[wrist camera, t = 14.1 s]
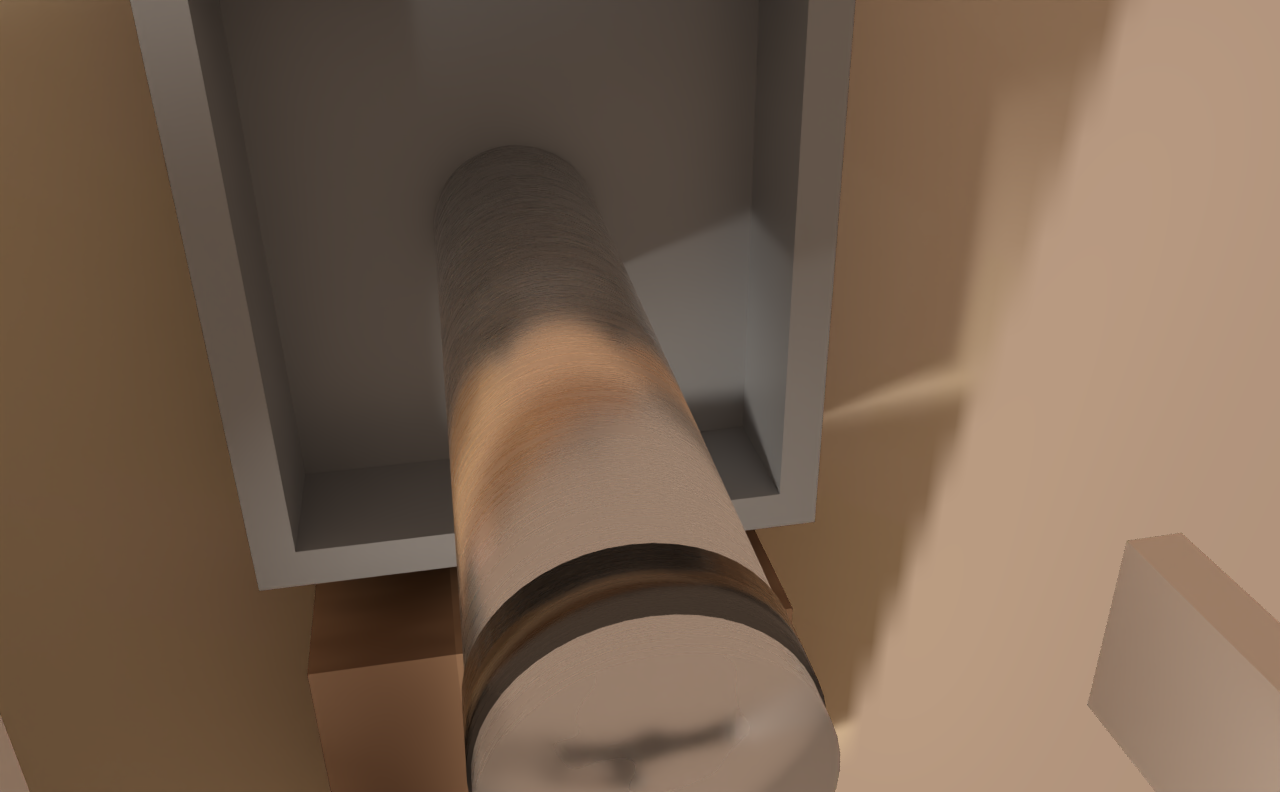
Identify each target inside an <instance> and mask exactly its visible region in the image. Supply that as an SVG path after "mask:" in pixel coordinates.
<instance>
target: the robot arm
mask: <svg viewBox="0 0 1280 792" xmlns="http://www.w3.org/2000/svg"><path fill="white" fill-rule="evenodd" d="M1088 706H1089V708H1090V709H1091V710H1092V712H1093V713H1094V714H1095V715H1096V717H1097V718H1098V719H1099V720H1100V722H1101V723H1102V724H1103V725H1104V727H1105V728H1106V729H1107V731H1108V732H1109V733H1110V734H1111V736H1112V737H1113V738H1114V739H1115V741H1116V742H1117V743H1118V745H1119V746H1120V747H1121V748H1122V750H1123V751H1124V752H1125V753H1126V755H1127V756H1128V757H1129V759H1130V760H1131V761H1132V762H1133V764H1134V765H1135V766H1136V767H1137V769H1138V770H1139V771H1140V772H1141V774H1142V775H1143V776H1144V778H1145V779H1146V780H1147V781H1148V783H1149V784H1150V785H1151V787H1152V788H1153V789H1154V790H1155V791H1156V792H1280V623H1279V622H1278V621H1277V620H1276V619H1275V618H1274V617H1273V616H1272V615H1271V614H1270V613H1268V612H1267V611H1266V610H1265V609H1264V608H1263V607H1262V606H1261V605H1260V604H1259V603H1258V602H1256V601H1255V600H1254V599H1253V598H1252V597H1251V596H1250V595H1249V594H1248V593H1247V592H1246V591H1244V590H1243V589H1242V588H1241V587H1240V586H1239V585H1238V584H1237V583H1236V582H1235V581H1234V580H1232V579H1231V578H1230V577H1229V576H1228V575H1227V574H1226V573H1224V571H1222V570H1221V569H1220V568H1219V567H1218V566H1217V565H1216V564H1215V563H1214V562H1213V561H1211V559H1209V558H1208V557H1207V556H1206V555H1205V554H1204V553H1203V552H1202V551H1201V550H1200V549H1198V548H1197V547H1196V546H1195V545H1194V544H1193V543H1192V542H1191V541H1190V540H1189V539H1187V538H1186V537H1185V536H1184V535H1183V534H1182V533H1176V534H1169V535H1162V536H1155V537H1149V538H1142V539H1135V540H1128V541H1127V542H1126V546H1125V550H1124V554H1123V558H1122V563H1121V567H1120V571H1119V575H1118V579H1117V583H1116V588H1115V592H1114V596H1113V600H1112V605H1111V608H1110V613H1109V617H1108V621H1107V625H1106V629H1105V633H1104V638H1103V642H1102V646H1101V651H1100V654H1099V659H1098V663H1097V667H1096V671H1095V675H1094V679H1093V684H1092V688H1091V692H1090V697H1089V701H1088ZM0 792H30V791H29V788H28V786H27V783H26V781H25V778H24V775H23V773H22V770H21V767H20V765H19V762H18V760H17V757H16V754H15V752H14V749H13V746H12V744H11V741H10V739H9V736H8V733H7V731H6V728H5V725H4V723H3V720H2V718H1V715H0Z"/></svg>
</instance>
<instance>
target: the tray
mask: <svg viewBox="0 0 1280 792" xmlns="http://www.w3.org/2000/svg"><path fill="white" fill-rule="evenodd" d="M130 3H131V8H132V12H133V17H134V21H135V26H136V30H137V35H138V39H139V44H140V49H141V53H142V58H143V62H144V67H145V71H146V76H147V81H148V85H149V90H150V94H151V99H152V103H153V108H154V113H155V117H156V122H157V126H158V131H159V135H160V140H161V145H162V149H163V154H164V158H165V163H166V167H167V172H168V177H169V181H170V186H171V190H172V195H173V199H174V204H175V209H176V213H177V218H178V222H179V227H180V231H181V236H182V241H183V245H184V250H185V254H186V259H187V263H188V268H189V273H190V277H191V282H192V286H193V291H194V295H195V300H196V305H197V309H198V314H199V318H200V323H201V327H202V332H203V336H204V341H205V346H206V350H207V355H208V359H209V364H210V368H211V373H212V378H213V382H214V387H215V391H216V396H217V400H218V405H219V410H220V414H221V419H222V423H223V428H224V432H225V437H226V442H227V446H228V451H229V455H230V460H231V464H232V469H233V474H234V478H235V483H236V487H237V492H238V496H239V501H240V506H241V510H242V515H243V519H244V524H245V528H246V533H247V538H248V542H249V547H250V551H251V556H252V560H253V565H254V570H255V574H256V579H257V583H258V588H259V591H262V590H270V589H278V588H287V587H295V586H303V585H311V584H319V583H327V582H335V581H343V580H351V579H359V578H367V577H375V576H383V575H391V574H399V573H407V572H415V571H423V570H431V569H440V568H448V567H456V566H457V561H456V546H455V532H454V517H453V502H452V487H451V473H450V458H449V443H448V428H447V414H446V399H445V384H444V369H443V355H442V340H441V325H440V310H439V296H438V281H437V266H436V251H435V237H434V214H435V208H436V204H437V200H438V198H439V195H440V193H441V191H442V189H443V187H444V185H445V184H446V182H447V181H448V179H449V178H450V177H451V175H452V174H453V173H454V172H455V171H456V170H457V169H458V168H459V167H460V166H461V165H462V164H464V163H465V162H466V161H468V160H469V159H471V158H472V157H474V156H476V155H478V154H480V153H482V152H484V151H487V150H489V149H493V148H497V147H502V146H510V145H523V146H531V147H536V148H539V149H543V150H546V151H548V152H551V153H553V154H555V155H557V156H558V157H560V158H562V159H563V160H565V161H566V162H567V163H569V164H570V165H571V166H572V167H573V168H574V169H575V170H576V171H577V172H578V173H579V174H580V176H581V177H582V178H583V180H584V181H585V182H586V184H587V186H588V188H589V190H590V192H591V194H592V196H593V198H594V200H595V203H596V205H597V207H598V209H599V211H600V214H601V216H602V218H603V220H604V222H605V225H606V227H607V229H608V231H609V233H610V236H611V238H612V240H613V242H614V244H615V247H616V249H617V251H618V253H619V255H620V258H621V260H622V262H623V264H624V266H625V269H626V271H627V273H628V275H629V277H630V280H631V282H632V284H633V286H634V288H635V291H636V293H637V295H638V297H639V299H640V301H641V304H642V306H643V308H644V310H645V312H646V315H647V317H648V319H649V321H650V323H651V326H652V328H653V330H654V332H655V334H656V337H657V339H658V341H659V343H660V345H661V348H662V350H663V352H664V354H665V356H666V359H667V361H668V363H669V365H670V367H671V370H672V372H673V374H674V376H675V378H676V381H677V383H678V385H679V387H680V389H681V392H682V394H683V396H684V398H685V400H686V402H687V405H688V407H689V409H690V411H691V413H692V416H693V418H694V420H695V422H696V424H697V427H698V429H699V431H700V433H701V435H702V438H703V440H704V442H705V444H706V446H707V449H708V451H709V453H710V455H711V457H712V460H713V462H714V464H715V466H716V468H717V471H718V473H719V475H720V477H721V479H722V482H723V484H724V486H725V488H726V490H727V493H728V495H729V497H730V499H731V501H732V503H733V506H734V508H735V510H736V512H737V514H738V517H739V519H740V521H741V523H742V525H743V528H744V530H745V531H746V530H754V529H762V528H770V527H778V526H786V525H794V524H802V523H810V522H815V512H816V499H817V486H818V473H819V460H820V448H821V435H822V422H823V409H824V396H825V384H826V371H827V358H828V345H829V332H830V320H831V307H832V294H833V281H834V268H835V256H836V243H837V230H838V217H839V204H840V192H841V179H842V166H843V153H844V140H845V128H846V115H847V102H848V89H849V76H850V64H851V51H852V38H853V25H854V12H855V0H130Z"/></svg>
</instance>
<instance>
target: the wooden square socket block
mask: <svg viewBox="0 0 1280 792" xmlns="http://www.w3.org/2000/svg"><path fill="white" fill-rule="evenodd" d="M745 532H746V534H747V536H748V539H749V541H750V543H751V545H752V547H753V550H754V552H755V554H756V556H757V558H758V561H759V563H760V565H761V567H762V569H763V572H764V574H765V576H766V578H767V580H768V583H769V585H770V587H771V589H772V591H773V592H774V593H775V594H776V595H777V597H778V598H779V600H780V602H781V603H782V605H783V607H784V608H785V610H786V612H787V614H788V616H789V619H790V621H791V623H792V606H791V604H790V602H789V600H788V598H787V596H786V594H785V592H784V590H783V588H782V586H781V584H780V582H779V580H778V578H777V575H776V573H775V571H774V569H773V567H772V565H771V563H770V561H769V559H768V557H767V555H766V553H765V551H764V549H763V547H762V545H761V543H760V541H759V538H758V536H757V534H756V532H755V530H746V531H745ZM463 674H464V664H463V649H462V635H461V620H460V605H459V591H458V576H457V566H456V567H448V568H440V569H431V570H423V571H415V572H407V573H399V574H391V575H383V576H375V577H367V578H359V579H351V580H343V581H335V582H327V583H319V584H316V590H315V600H314V611H313V621H312V631H311V642H310V652H309V663H308V673H307V675H308V680H309V685H310V690H311V695H312V700H313V705H314V710H315V715H316V720H317V725H318V730H319V735H320V740H321V745H322V750H323V755H324V760H325V765H326V770H327V774H328V779H329V784H330V789H331V792H469V791H468V786H467V777H466V761H465V745H464V729H463V713H462V681H463Z"/></svg>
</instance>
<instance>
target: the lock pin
mask: <svg viewBox="0 0 1280 792" xmlns="http://www.w3.org/2000/svg"><path fill="white" fill-rule="evenodd" d="M434 237H435V251H436V266H437V281H438V296H439V310H440V325H441V340H442V355H443V369H444V384H445V399H446V414H447V428H448V443H449V458H450V473H451V487H452V502H453V517H454V532H455V546H456V561H457V576H458V591H459V605H460V620H461V635H462V649H463V664H464V674H463V681H462V713H463V729H464V745H465V761H466V777H467V786H468V791H469V792H835V790H836V787H837V782H838V776H839V771H840V750H839V744H838V738H837V734H836V732H835V729H834V726H833V724H832V721H831V719H830V716H829V714H828V712H827V710H826V707H825V701H824V695H823V693H822V690H821V687H820V685H819V682H818V679H817V677H816V675H815V673H814V671H813V668H812V666H811V664H810V662H809V660H808V658H807V655H806V653H805V651H804V649H803V647H802V645H801V642H800V640H799V638H798V636H797V634H796V632H795V629H794V627H793V625H792V623H791V621H790V619H789V616H788V614H787V612H786V610H785V608H784V607H783V605H782V603H781V602H780V600H779V598H778V597H777V595H776V594H775V593H774V592H773V591H772V589H771V587H770V585H769V583H768V580H767V578H766V576H765V574H764V572H763V569H762V567H761V565H760V563H759V561H758V558H757V556H756V554H755V552H754V550H753V547H752V545H751V543H750V541H749V539H748V536H747V534H746V532H745V530H744V528H743V525H742V523H741V521H740V519H739V517H738V514H737V512H736V510H735V508H734V506H733V503H732V501H731V499H730V497H729V495H728V493H727V490H726V488H725V486H724V484H723V482H722V479H721V477H720V475H719V473H718V471H717V468H716V466H715V464H714V462H713V460H712V457H711V455H710V453H709V451H708V449H707V446H706V444H705V442H704V440H703V438H702V435H701V433H700V431H699V429H698V427H697V424H696V422H695V420H694V418H693V416H692V413H691V411H690V409H689V407H688V405H687V402H686V400H685V398H684V396H683V394H682V392H681V389H680V387H679V385H678V383H677V381H676V378H675V376H674V374H673V372H672V370H671V367H670V365H669V363H668V361H667V359H666V356H665V354H664V352H663V350H662V348H661V345H660V343H659V341H658V339H657V337H656V334H655V332H654V330H653V328H652V326H651V323H650V321H649V319H648V317H647V315H646V312H645V310H644V308H643V306H642V304H641V301H640V299H639V297H638V295H637V293H636V291H635V288H634V286H633V284H632V282H631V280H630V277H629V275H628V273H627V271H626V269H625V266H624V264H623V262H622V260H621V258H620V255H619V253H618V251H617V249H616V247H615V244H614V242H613V240H612V238H611V236H610V233H609V231H608V229H607V227H606V225H605V222H604V220H603V218H602V216H601V214H600V211H599V209H598V207H597V205H596V203H595V200H594V198H593V196H592V194H591V192H590V190H589V188H588V186H587V184H586V182H585V181H584V180H583V178H582V177H581V176H580V174H579V173H578V172H577V171H576V170H575V169H574V168H573V167H572V166H571V165H570V164H569V163H567V162H566V161H565V160H563V159H562V158H560V157H558V156H557V155H555V154H553V153H551V152H548V151H546V150H543V149H539V148H536V147H531V146H523V145H510V146H502V147H497V148H493V149H489V150H487V151H484V152H482V153H480V154H478V155H476V156H474V157H472V158H471V159H469V160H468V161H466V162H465V163H464V164H462V165H461V166H460V167H459V168H458V169H457V170H456V171H455V172H454V173H453V174H452V175H451V177H450V178H449V179H448V181H447V182H446V184H445V185H444V187H443V189H442V191H441V193H440V195H439V198H438V200H437V204H436V208H435V214H434Z"/></svg>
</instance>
